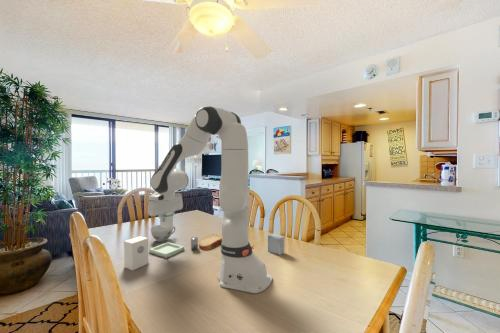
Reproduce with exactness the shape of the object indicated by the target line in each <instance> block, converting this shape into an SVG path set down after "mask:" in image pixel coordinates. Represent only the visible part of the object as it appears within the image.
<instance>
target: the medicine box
mask: <svg viewBox="0 0 500 333" xmlns="http://www.w3.org/2000/svg"><path fill="white" fill-rule="evenodd" d="M267 252H270V253H273V254H275V255H278V256H280V255H283V254H284V253H285V236H282V235H279V234H275V233H271V234H268V235H267Z"/></svg>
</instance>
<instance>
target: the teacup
mask: <svg viewBox="0 0 500 333" xmlns="http://www.w3.org/2000/svg"><path fill="white" fill-rule="evenodd" d="M150 232H151V235H152V237H153V239H154V240H155V241H156V242H159V243H163V242H166V241H167V240H169V238H171V236H172V235H173V234H174V233H175V232H176V226H173V227H170V228H163V227H160V224H158V225H153V226H152V227H151V228H150Z"/></svg>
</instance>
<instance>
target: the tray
mask: <svg viewBox="0 0 500 333" xmlns="http://www.w3.org/2000/svg"><path fill="white" fill-rule="evenodd" d="M183 251H185V246H184V245H180V244H177V243H173V242H169V241H167V242H165V243H162V244H159V245H157V246H154V247H151V248H148V254H151V255H155V256H157V257H161V258H164V259H168V258H170V257H172V256H174V255H176V254H177V255H178V254H179V253H182V252H183Z"/></svg>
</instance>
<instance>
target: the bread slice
mask: <svg viewBox="0 0 500 333" xmlns="http://www.w3.org/2000/svg"><path fill="white" fill-rule="evenodd" d="M221 243H222V235H218V234H215V233H214V234H211V235H208V236H205V237H204V238H202V239H201V241H200V242H199V243H198V249H200V250H202V251H209V250H211V249H213V248H214V249H215V248H216V247H217V246H219V245H221Z"/></svg>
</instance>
